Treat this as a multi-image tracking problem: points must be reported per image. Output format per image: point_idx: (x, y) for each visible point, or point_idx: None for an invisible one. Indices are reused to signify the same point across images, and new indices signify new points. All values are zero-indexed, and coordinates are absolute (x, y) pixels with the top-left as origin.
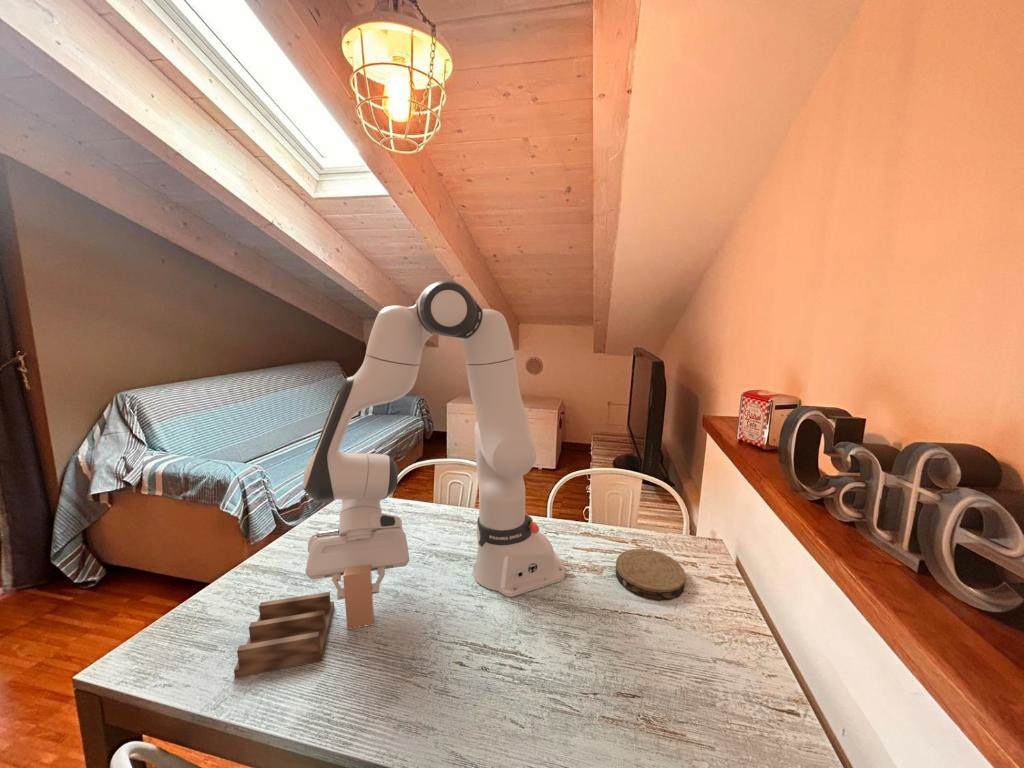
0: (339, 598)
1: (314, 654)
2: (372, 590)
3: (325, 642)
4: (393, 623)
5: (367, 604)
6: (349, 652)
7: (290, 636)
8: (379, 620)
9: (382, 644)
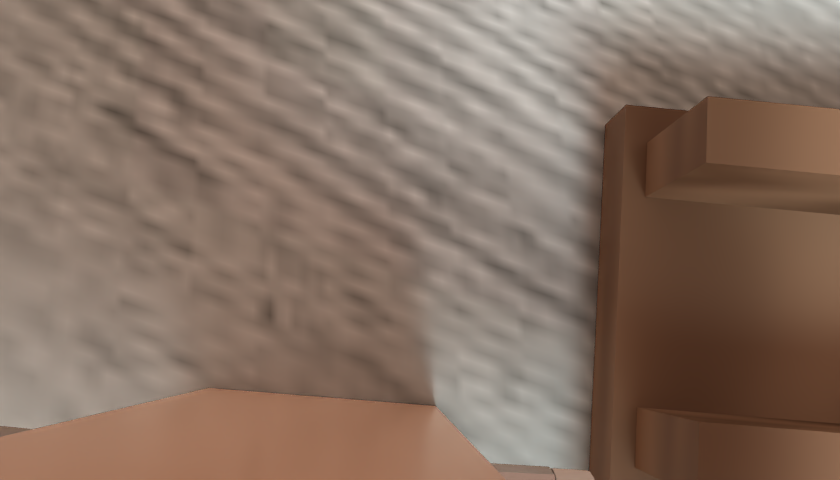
0: (553, 469)
1: (677, 113)
2: None
3: (603, 282)
4: (28, 343)
5: (193, 408)
6: (406, 137)
7: None
8: None
9: (148, 130)
